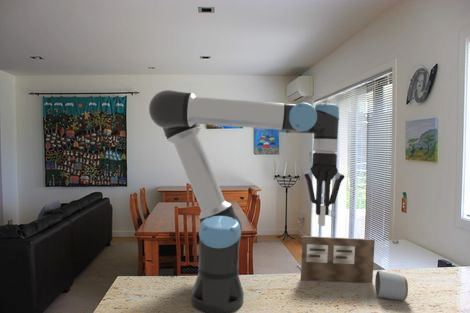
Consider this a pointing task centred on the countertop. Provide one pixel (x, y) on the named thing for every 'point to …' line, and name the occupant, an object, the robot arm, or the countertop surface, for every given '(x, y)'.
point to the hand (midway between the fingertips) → (321, 224)
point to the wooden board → (337, 259)
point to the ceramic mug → (391, 286)
